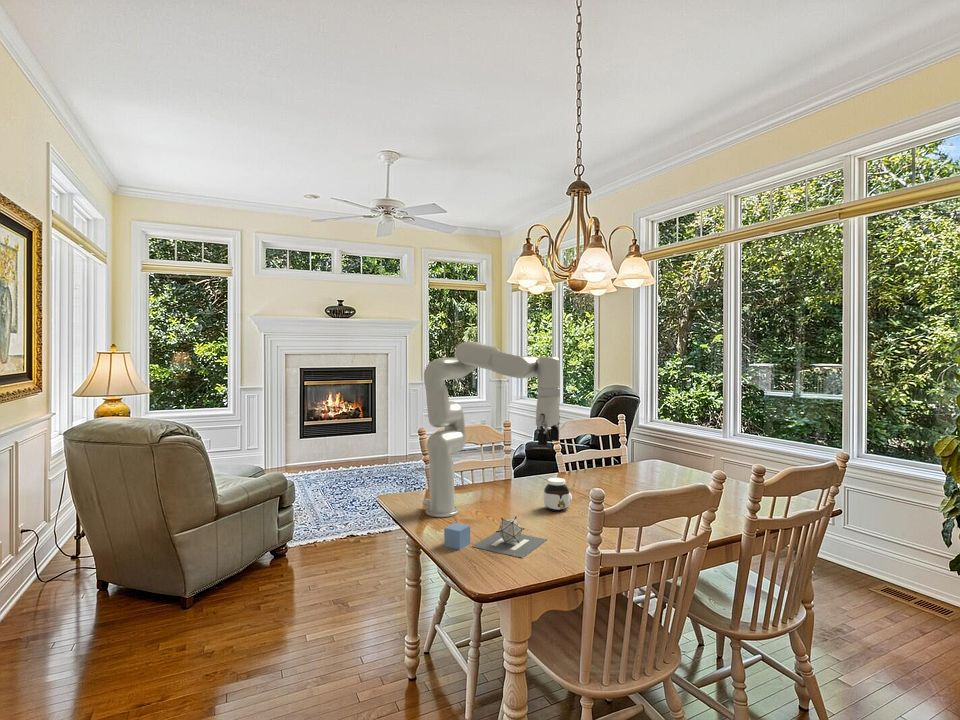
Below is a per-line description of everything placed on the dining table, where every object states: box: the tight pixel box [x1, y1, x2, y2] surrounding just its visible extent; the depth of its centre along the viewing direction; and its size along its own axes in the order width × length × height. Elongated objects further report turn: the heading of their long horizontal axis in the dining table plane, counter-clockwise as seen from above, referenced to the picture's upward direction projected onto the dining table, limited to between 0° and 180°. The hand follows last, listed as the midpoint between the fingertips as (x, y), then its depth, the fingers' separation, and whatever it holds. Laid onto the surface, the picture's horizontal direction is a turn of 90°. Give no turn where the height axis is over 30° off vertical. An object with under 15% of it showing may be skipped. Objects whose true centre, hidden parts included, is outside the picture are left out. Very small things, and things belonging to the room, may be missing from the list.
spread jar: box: [543, 477, 573, 513], centre depth 210 cm, size 12×11×12 cm
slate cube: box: [443, 522, 471, 551], centre depth 171 cm, size 6×6×6 cm
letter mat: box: [472, 531, 548, 559], centre depth 172 cm, size 18×18×1 cm
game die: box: [495, 515, 526, 544], centre depth 172 cm, size 9×8×10 cm
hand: (548, 442), depth 180 cm, fingers open, 9 cm apart
